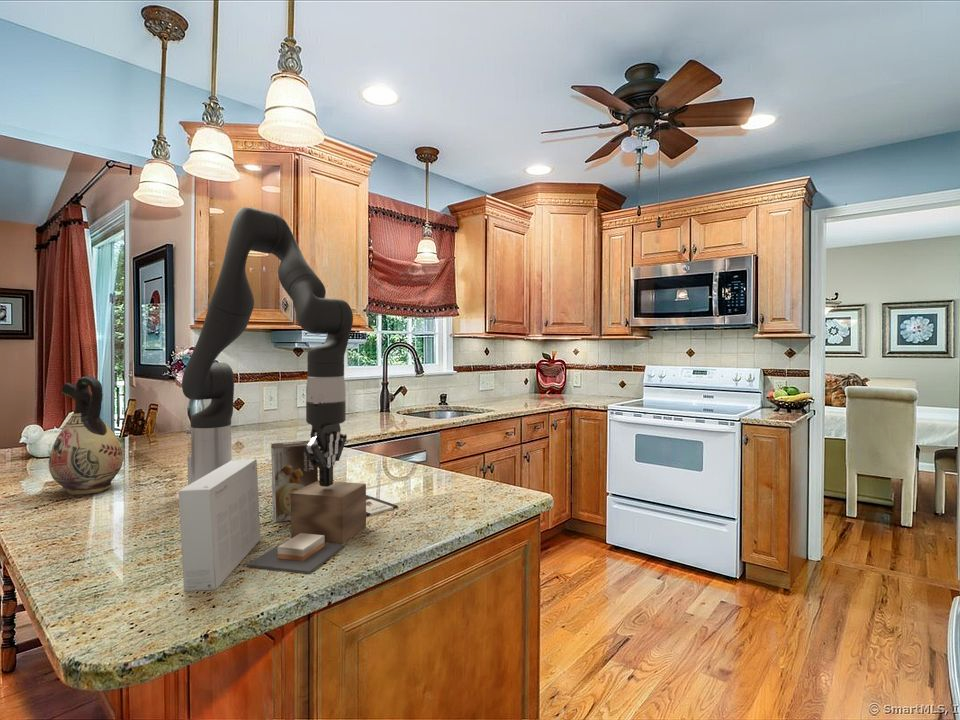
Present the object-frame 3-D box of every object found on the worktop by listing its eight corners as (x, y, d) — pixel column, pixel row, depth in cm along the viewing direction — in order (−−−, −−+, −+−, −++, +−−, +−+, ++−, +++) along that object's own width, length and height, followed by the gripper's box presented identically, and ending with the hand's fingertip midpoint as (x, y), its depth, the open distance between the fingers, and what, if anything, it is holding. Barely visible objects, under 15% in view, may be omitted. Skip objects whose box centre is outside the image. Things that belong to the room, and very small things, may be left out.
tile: (300, 533, 98) (300, 543, 98) (277, 546, 91) (277, 558, 91) (324, 535, 97) (324, 546, 97) (303, 549, 90) (303, 560, 90)
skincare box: (232, 541, 101) (231, 459, 100) (261, 540, 101) (260, 458, 101) (178, 592, 80) (177, 488, 79) (215, 591, 80) (214, 488, 80)
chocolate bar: (354, 490, 134) (397, 505, 121) (354, 494, 134) (397, 509, 122) (322, 498, 127) (365, 514, 115) (322, 502, 127) (365, 519, 115)
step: (291, 539, 101) (290, 493, 101) (318, 522, 111) (318, 480, 111) (342, 544, 99) (342, 497, 99) (366, 526, 109) (365, 483, 108)
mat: (246, 566, 89) (246, 564, 89) (288, 541, 100) (288, 539, 100) (309, 573, 86) (309, 571, 86) (345, 546, 98) (345, 544, 98)
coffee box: (314, 508, 121) (313, 439, 120) (319, 516, 115) (318, 444, 115) (271, 514, 117) (270, 442, 116) (274, 523, 111) (274, 447, 110)
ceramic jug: (34, 495, 131) (32, 376, 131) (99, 480, 146) (97, 373, 145) (78, 503, 125) (75, 377, 124) (141, 487, 139) (139, 374, 138)
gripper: (326, 395, 111) (326, 476, 112) (289, 401, 98) (289, 493, 99) (358, 396, 109) (358, 478, 110) (325, 403, 96) (325, 496, 97)
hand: (326, 485), depth 104 cm, fingers closed
